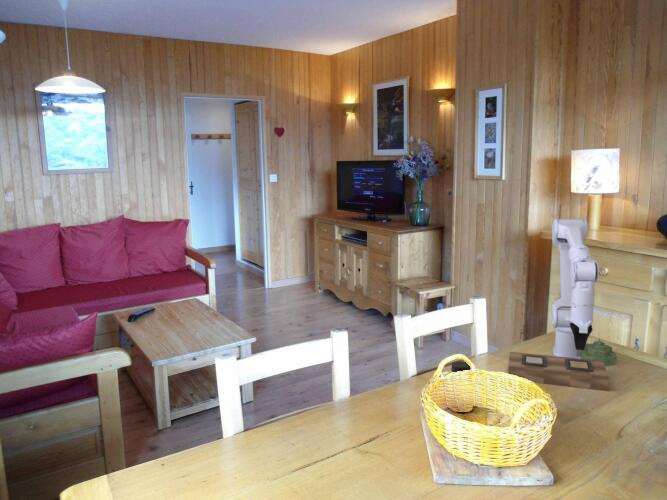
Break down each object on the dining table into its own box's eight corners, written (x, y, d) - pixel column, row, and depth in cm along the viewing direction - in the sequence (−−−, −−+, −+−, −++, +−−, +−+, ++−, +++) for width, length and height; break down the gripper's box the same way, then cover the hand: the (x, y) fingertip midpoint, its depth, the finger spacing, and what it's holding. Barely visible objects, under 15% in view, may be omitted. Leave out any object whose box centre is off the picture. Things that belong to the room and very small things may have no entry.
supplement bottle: (476, 413, 133) (477, 369, 131) (449, 414, 134) (450, 370, 131) (470, 401, 140) (471, 358, 138) (444, 401, 140) (445, 359, 138)
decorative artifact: (590, 352, 171) (574, 360, 165) (591, 331, 170) (575, 338, 164) (621, 361, 163) (606, 369, 157) (623, 339, 162) (607, 347, 156)
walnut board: (509, 363, 163) (509, 350, 163) (602, 373, 154) (603, 359, 154) (507, 379, 152) (508, 365, 152) (607, 391, 143) (608, 375, 143)
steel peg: (525, 369, 158) (526, 356, 157) (541, 371, 157) (542, 358, 156) (525, 375, 154) (525, 362, 153) (541, 377, 153) (542, 363, 152)
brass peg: (568, 374, 154) (569, 360, 153) (585, 375, 153) (586, 362, 152) (570, 380, 150) (570, 366, 149) (587, 382, 148) (588, 368, 148)
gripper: (565, 295, 155) (562, 339, 158) (568, 309, 142) (565, 357, 144) (591, 297, 153) (588, 341, 155) (597, 311, 139) (594, 359, 142)
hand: (579, 349), depth 150 cm, fingers closed
